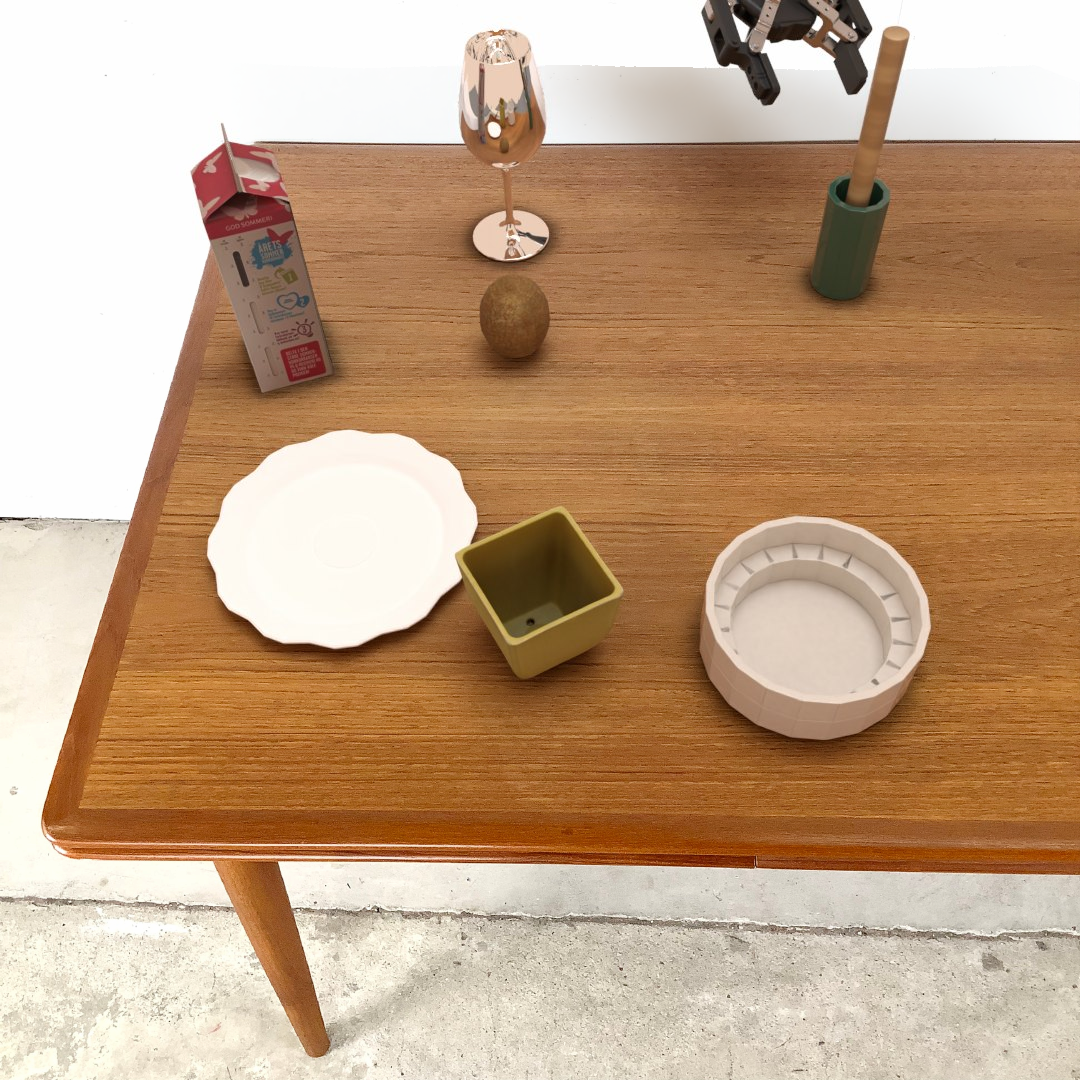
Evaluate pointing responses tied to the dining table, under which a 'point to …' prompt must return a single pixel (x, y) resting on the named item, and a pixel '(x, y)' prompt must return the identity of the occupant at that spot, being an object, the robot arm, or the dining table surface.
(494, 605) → the flower pot
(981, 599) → the dining table surface
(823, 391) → the dining table surface
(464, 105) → the wineglass
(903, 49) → the stirring stick
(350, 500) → the plate
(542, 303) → the fruit
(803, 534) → the bowl
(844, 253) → the holder
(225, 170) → the juice carton
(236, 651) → the dining table surface
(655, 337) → the dining table surface
